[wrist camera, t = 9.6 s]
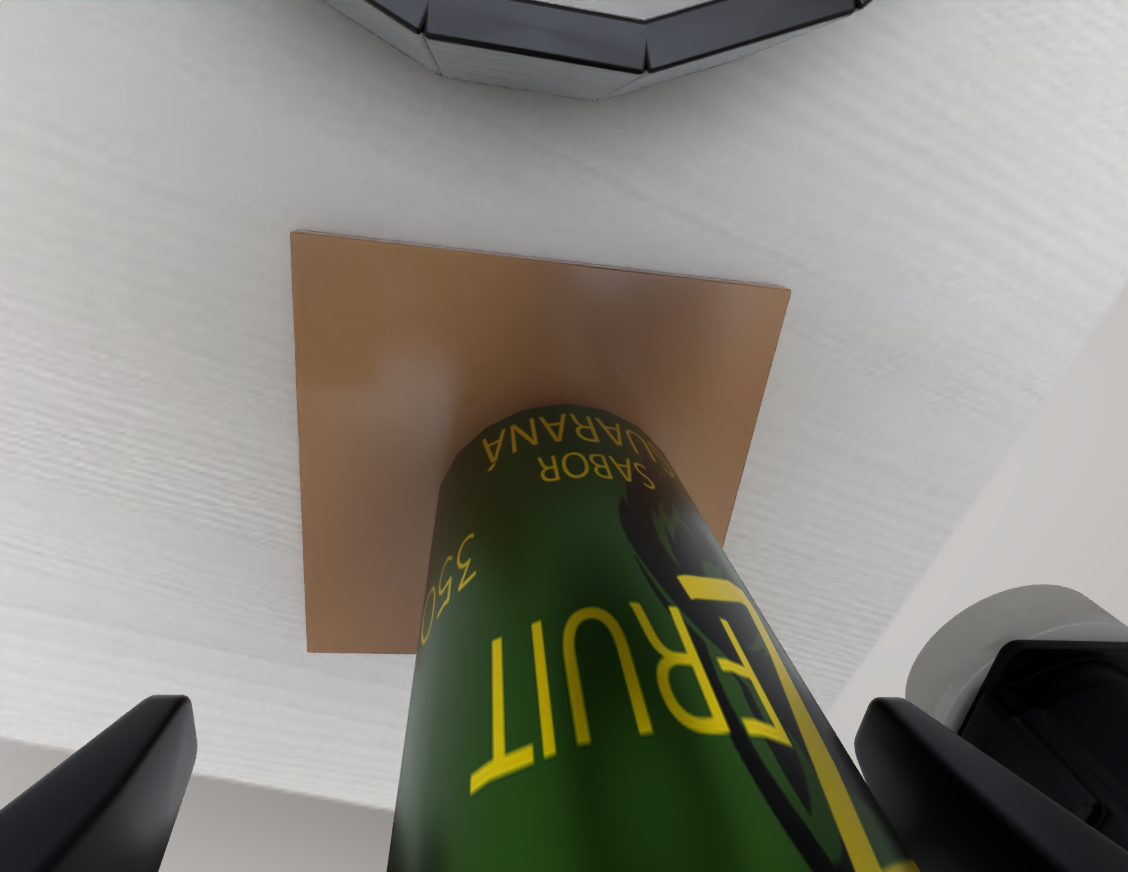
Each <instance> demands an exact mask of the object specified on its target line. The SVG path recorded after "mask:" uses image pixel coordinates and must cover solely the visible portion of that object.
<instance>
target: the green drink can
mask: <svg viewBox="0 0 1128 872" xmlns="http://www.w3.org/2000/svg"><path fill="white" fill-rule="evenodd" d="M387 872H920V870H919V869H918V867H917V865H916V864H915V862H914V860H913V859H912V857H911V855H910V854H909V852H908V851H907V849H906V847H905V846H904V844H903V842H902V841H901V839H900V838H899V836H898V834H897V833H896V831H895V829H894V828H893V826H892V825H891V823H890V821H889V820H888V818H887V816H886V815H885V813H884V812H883V810H882V808H881V807H880V805H879V803H878V802H877V800H876V798H875V797H874V795H873V794H872V792H871V790H870V789H869V787H868V785H867V784H866V782H865V781H864V779H863V777H862V776H861V774H860V772H859V771H858V769H857V768H856V766H855V764H854V763H853V761H852V759H851V758H850V756H849V755H848V753H847V751H846V750H845V748H844V747H843V745H842V743H841V742H840V740H839V738H838V737H837V735H836V733H835V732H834V730H833V728H832V727H831V725H830V724H829V722H828V720H827V719H826V717H825V715H824V714H823V712H822V711H821V709H820V707H819V706H818V704H817V702H816V701H815V699H814V697H813V696H812V694H811V693H810V691H809V689H808V688H807V686H806V684H805V683H804V681H803V680H802V678H801V676H800V675H799V673H798V671H797V670H796V668H795V667H794V665H793V663H792V662H791V660H790V658H789V657H788V655H787V654H786V652H785V650H784V649H783V647H782V645H781V644H780V642H779V640H778V639H777V637H776V636H775V634H774V632H773V631H772V629H771V627H770V626H769V624H768V623H767V621H766V619H765V618H764V616H763V614H762V613H761V611H760V610H759V608H758V606H757V605H756V603H755V601H754V600H753V598H752V596H751V595H750V593H749V592H748V590H747V588H746V587H745V585H744V583H743V582H742V580H741V579H740V577H739V575H738V574H737V572H736V570H735V569H734V567H733V566H732V564H731V562H730V561H729V559H728V557H727V556H726V554H725V553H724V551H723V549H722V548H721V546H720V544H719V543H718V541H717V539H716V538H715V536H714V535H713V533H712V531H711V530H710V528H709V526H708V525H707V523H706V522H705V520H704V518H703V517H702V515H701V513H700V512H699V510H698V509H697V507H696V505H695V504H694V502H693V500H692V499H691V497H690V495H689V494H688V492H687V491H686V489H685V487H684V486H683V484H682V482H681V481H680V479H679V478H678V476H677V474H676V473H675V471H674V469H673V468H672V466H671V465H670V463H669V461H668V460H667V458H666V456H665V455H664V453H663V452H662V451H661V450H660V449H659V448H658V447H657V446H656V445H655V443H654V442H653V441H652V440H651V439H650V438H649V437H648V436H647V435H646V434H645V433H644V432H643V431H642V430H641V429H640V428H639V427H638V426H636V425H634V424H632V423H630V422H628V421H626V420H624V419H622V418H620V417H618V416H616V415H614V414H612V413H610V412H608V411H606V410H603V409H596V408H590V407H583V406H577V405H570V404H559V405H552V406H545V407H539V408H532V409H525V410H522V411H520V412H518V413H516V414H513V415H511V416H509V417H507V418H505V419H503V420H501V421H499V422H496V423H494V424H492V425H490V426H488V427H486V428H485V429H484V430H483V431H482V432H481V433H480V434H479V435H477V436H476V437H475V438H474V439H473V440H472V441H471V442H470V443H469V444H468V445H467V446H465V447H464V448H463V449H462V450H461V451H460V452H459V453H458V454H457V456H456V458H455V459H454V461H453V463H452V465H451V467H450V469H449V470H448V472H447V474H446V476H445V478H444V480H443V481H442V483H441V485H440V489H439V496H438V503H437V509H436V516H435V523H434V531H433V538H432V545H431V553H430V560H429V567H428V574H427V582H426V589H425V596H424V604H423V611H422V618H421V625H420V633H419V640H418V647H417V655H416V662H415V669H414V676H413V684H412V691H411V698H410V705H409V713H408V720H407V727H406V735H405V742H404V749H403V756H402V764H401V771H400V778H399V786H398V793H397V800H396V807H395V815H394V822H393V829H392V837H391V844H390V851H389V859H388V866H387Z"/></svg>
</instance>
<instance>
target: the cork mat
mask: <svg viewBox="0 0 1128 872" xmlns="http://www.w3.org/2000/svg"><path fill="white" fill-rule="evenodd" d="M290 243H291V267H292V292H293V316H294V341H295V365H296V389H297V414H298V438H299V463H300V487H301V512H302V536H303V560H304V585H305V609H306V634H307V651H308V652H309V653H372V654H417V647H418V640H419V633H420V625H421V618H422V611H423V604H424V596H425V589H426V582H427V574H428V567H429V560H430V553H431V545H432V538H433V531H434V523H435V516H436V509H437V503H438V496H439V489H440V485H441V483H442V481H443V480H444V478H445V476H446V474H447V472H448V470H449V469H450V467H451V465H452V463H453V461H454V459H455V458H456V456H457V454H458V453H459V452H460V451H461V450H462V449H463V448H464V447H465V446H467V445H468V444H469V443H470V442H471V441H472V440H473V439H474V438H475V437H476V436H477V435H479V434H480V433H481V432H482V431H483V430H484V429H485V428H486V427H488V426H490V425H492V424H494V423H496V422H499V421H501V420H503V419H505V418H507V417H509V416H511V415H513V414H516V413H518V412H520V411H522V410H525V409H532V408H539V407H545V406H552V405H559V404H570V405H577V406H583V407H590V408H596V409H603V410H606V411H608V412H610V413H612V414H614V415H616V416H618V417H620V418H622V419H624V420H626V421H628V422H630V423H632V424H634V425H636V426H638V427H639V428H640V429H641V430H642V431H643V432H644V433H645V434H646V435H647V436H648V437H649V438H650V439H651V440H652V441H653V442H654V443H655V445H656V446H657V447H658V448H659V449H660V450H661V451H662V452H663V453H664V455H665V456H666V458H667V460H668V461H669V463H670V465H671V466H672V468H673V469H674V471H675V473H676V474H677V476H678V478H679V479H680V481H681V482H682V484H683V486H684V487H685V489H686V491H687V492H688V494H689V495H690V497H691V499H692V500H693V502H694V504H695V505H696V507H697V509H698V510H699V512H700V513H701V515H702V517H703V518H704V520H705V522H706V523H707V525H708V526H709V528H710V530H711V531H712V533H713V535H714V536H715V538H716V539H717V541H718V543H719V544H720V546H721V548H722V547H723V544H724V540H725V536H726V533H727V529H728V525H729V521H730V518H731V514H732V510H733V506H734V503H735V499H736V495H737V492H738V488H739V484H740V480H741V477H742V473H743V469H744V465H745V462H746V458H747V454H748V451H749V447H750V443H751V439H752V436H753V432H754V428H755V424H756V421H757V417H758V413H759V410H760V406H761V402H762V398H763V395H764V391H765V387H766V383H767V380H768V376H769V372H770V369H771V365H772V361H773V357H774V354H775V350H776V346H777V342H778V339H779V335H780V331H781V328H782V324H783V320H784V316H785V313H786V309H787V305H788V301H789V298H790V294H791V290H790V289H788V288H786V287H783V286H775V285H767V284H758V283H750V282H741V281H733V280H724V279H716V278H707V277H699V276H690V275H682V274H673V273H664V272H656V271H647V270H639V269H630V268H622V267H613V266H605V265H596V264H588V263H579V262H570V261H562V260H553V259H545V258H536V257H528V256H519V255H511V254H502V253H494V252H485V251H476V250H468V249H459V248H451V247H442V246H434V245H425V244H417V243H408V242H400V241H391V240H382V239H374V238H365V237H357V236H348V235H340V234H331V233H323V232H314V231H306V230H294V231H292V232H291V233H290Z"/></svg>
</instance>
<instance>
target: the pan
mask: <svg viewBox="0 0 1128 872" xmlns="http://www.w3.org/2000/svg"><path fill="white" fill-rule="evenodd" d="M321 1H323V2H324V3H326V4H327V5H329V6H330V7H332V8H334V9H335V10H337V11H338V12H340V13H341V14H343V15H345V16H346V17H348V18H349V19H351V20H352V21H354V22H356V23H357V24H359V25H360V26H362V27H364V28H365V29H367V30H368V31H370V32H371V33H373V34H375V35H376V36H378V37H379V38H381V39H382V40H384V41H386V42H387V43H389V44H390V45H392V46H393V47H395V48H397V49H398V50H400V51H401V52H403V53H404V54H406V55H408V56H409V57H411V58H412V59H414V60H415V61H417V62H419V63H420V64H422V65H423V66H425V67H426V68H428V69H430V70H431V71H433V72H434V73H436V74H439V75H440V74H441V73H442V75H443V76H444V77H446V78H450V79H456V80H463V81H469V82H475V83H481V84H488V85H494V86H500V87H507V88H513V89H519V90H525V91H532V92H538V93H544V94H551V95H557V96H563V97H569V98H576V99H582V100H588V101H594V100H596V99H598V100H604V99H607V98H611V97H614V96H617V95H621V94H624V93H627V92H631V91H634V90H637V89H641V88H644V87H648V86H651V85H654V84H658V83H661V82H664V81H668V80H671V79H674V78H678V77H681V76H685V75H688V74H691V73H695V72H698V71H701V70H705V69H708V68H711V67H715V66H718V65H722V64H725V63H728V62H732V61H735V60H738V59H741V58H744V57H746V56H749V55H751V54H754V53H756V52H759V51H761V50H764V49H766V48H769V47H771V46H774V45H776V44H779V43H781V42H784V41H786V40H789V39H792V38H794V37H797V36H799V35H802V34H804V33H807V32H809V31H812V30H814V29H817V28H819V27H822V26H824V25H827V24H829V23H832V22H834V21H837V20H840V19H842V18H845V17H847V16H850V15H851V14H853V13H854V12H856V11H859V10H861V9H863V8H865V7H866V6H867V5H868V4H869V3H871V2H872V1H873V0H710V1H706V2H703V3H699V4H696V5H693V6H689V7H686V8H683V9H679V10H676V11H673V12H669V13H666V14H663V15H659V16H656V17H652V18H649V19H646V20H642V19H637V18H631V17H626V16H620V15H615V14H609V13H604V12H598V11H593V10H587V9H582V8H576V7H571V6H566V5H560V4H555V3H549V2H544V1H538V0H321Z"/></svg>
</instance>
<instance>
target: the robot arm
mask: <svg viewBox="0 0 1128 872" xmlns="http://www.w3.org/2000/svg"><path fill="white" fill-rule="evenodd" d="M854 745H855V753H856V757H857V760H858V763H859V765H860V768H861V771H862V773H863V776H864V779H865V781H866V784H867V785H868V787H869V789H870V790H871V792H872V794H873V795H874V797H875V798H876V800H877V802H878V803H879V805H880V807H881V808H882V810H883V812H884V813H885V815H886V816H887V818H888V820H889V821H890V823H891V825H892V826H893V828H894V829H895V831H896V833H897V834H898V836H899V838H900V839H901V841H902V842H903V844H904V846H905V847H906V849H907V851H908V852H909V854H910V855H911V857H912V859H913V860H914V862H915V864H916V865H917V867H918V869H919V870H920V872H1128V642H1110V641H1066V640H1022V639H1018V640H1012V641H1010V642H1008V643H1006V644H1005V645H1004V646H1002V648H1001V649H1000V650H999V652H998V654H997V656H996V658H995V660H994V662H993V664H992V666H991V668H990V670H989V672H988V674H987V676H986V678H985V680H984V682H983V684H982V686H981V687H980V689H979V691H978V693H977V695H976V697H975V699H974V701H973V703H972V705H971V707H970V709H969V711H968V713H967V715H966V717H965V719H964V721H963V723H962V725H961V727H960V729H959V731H958V732H957V734H956V733H954V732H953V731H951V730H950V729H948V728H947V727H945V726H944V725H942V724H941V723H940V722H938V721H937V720H935V719H934V718H932V717H931V716H929V715H928V714H926V713H925V712H924V711H922V710H921V709H919V708H918V707H916V706H915V705H913V704H912V703H910V702H909V701H907V700H905V699H903V698H899V697H878V698H875V699H873V700H872V701H871V702H870V704H869V706H868V708H867V711H866V713H865V715H864V717H863V720H862V722H861V725H860V727H859V729H858V731H857V734H856V737H855V742H854ZM196 754H197V738H196V731H195V724H194V717H193V710H192V704H191V701H190V699H189V697H187V696H184V695H153V696H150V697H148V698H146V699H144V700H143V701H142V702H140V703H139V704H138V705H136V706H135V707H134V708H132V709H131V710H130V711H129V712H127V713H126V714H125V715H123V716H122V717H121V718H119V719H118V720H117V721H116V722H114V723H113V724H112V725H110V726H109V727H108V728H106V729H105V730H104V731H103V732H101V733H100V734H99V735H97V736H96V737H95V738H93V739H92V740H91V741H90V742H88V743H87V744H86V745H84V746H83V747H82V748H80V749H79V750H78V751H77V752H75V753H74V754H73V755H71V756H70V757H69V758H67V759H66V760H65V761H64V762H62V763H61V764H60V765H58V766H57V767H56V768H54V769H53V770H52V771H50V772H49V773H48V774H47V775H45V776H44V777H43V778H41V779H40V780H39V781H38V782H36V783H35V784H34V785H32V786H31V787H30V788H29V789H27V790H26V791H24V792H23V793H22V794H21V795H19V796H18V797H17V798H15V799H14V800H13V801H11V802H10V803H9V804H8V805H6V806H5V807H4V808H2V809H1V810H0V872H158V871H159V868H160V865H161V862H162V859H163V856H164V853H165V850H166V847H167V844H168V841H169V838H170V835H171V832H172V829H173V826H174V823H175V820H176V817H177V814H178V811H179V808H180V805H181V802H182V799H183V796H184V794H185V791H186V788H187V785H188V782H189V779H190V776H191V773H192V770H193V767H194V764H195V759H196Z"/></svg>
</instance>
